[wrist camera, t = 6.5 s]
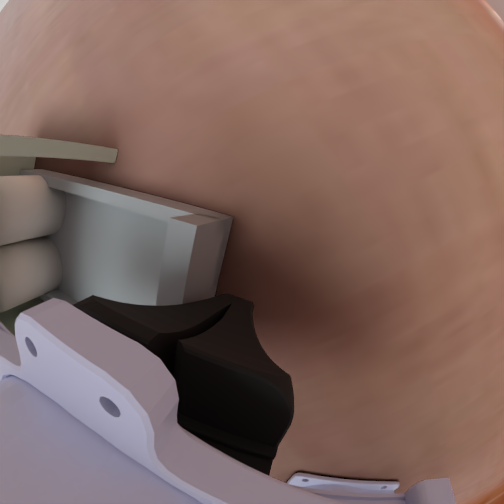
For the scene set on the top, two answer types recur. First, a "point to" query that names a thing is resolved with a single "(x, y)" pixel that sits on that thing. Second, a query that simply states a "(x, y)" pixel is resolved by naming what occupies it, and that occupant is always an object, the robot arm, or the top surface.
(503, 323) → the top surface
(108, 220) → the tray
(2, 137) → the block
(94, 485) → the robot arm
